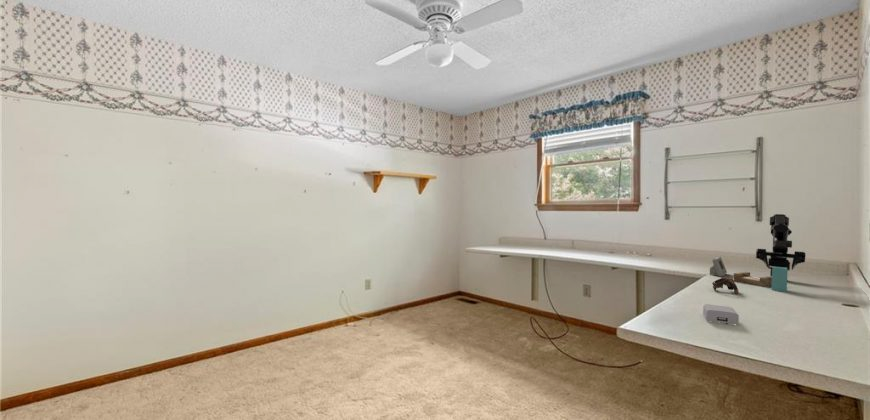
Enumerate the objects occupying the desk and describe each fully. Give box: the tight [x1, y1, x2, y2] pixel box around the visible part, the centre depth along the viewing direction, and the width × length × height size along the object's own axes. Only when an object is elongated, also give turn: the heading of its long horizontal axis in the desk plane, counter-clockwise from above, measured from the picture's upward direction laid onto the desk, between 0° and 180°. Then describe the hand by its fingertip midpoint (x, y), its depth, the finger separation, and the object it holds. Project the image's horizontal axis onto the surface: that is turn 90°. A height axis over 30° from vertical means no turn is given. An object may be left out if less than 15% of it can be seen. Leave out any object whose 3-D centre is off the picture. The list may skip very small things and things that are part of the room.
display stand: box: [733, 271, 772, 288], centre depth 201 cm, size 12×14×4 cm
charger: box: [702, 303, 740, 326], centre depth 139 cm, size 5×9×15 cm
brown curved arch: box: [711, 276, 740, 296], centre depth 181 cm, size 12×10×8 cm
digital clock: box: [709, 256, 728, 278], centre depth 223 cm, size 16×9×11 cm, turn 123°
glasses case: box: [771, 266, 789, 293], centre depth 185 cm, size 6×6×12 cm
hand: (779, 267), depth 188 cm, fingers open, 9 cm apart
